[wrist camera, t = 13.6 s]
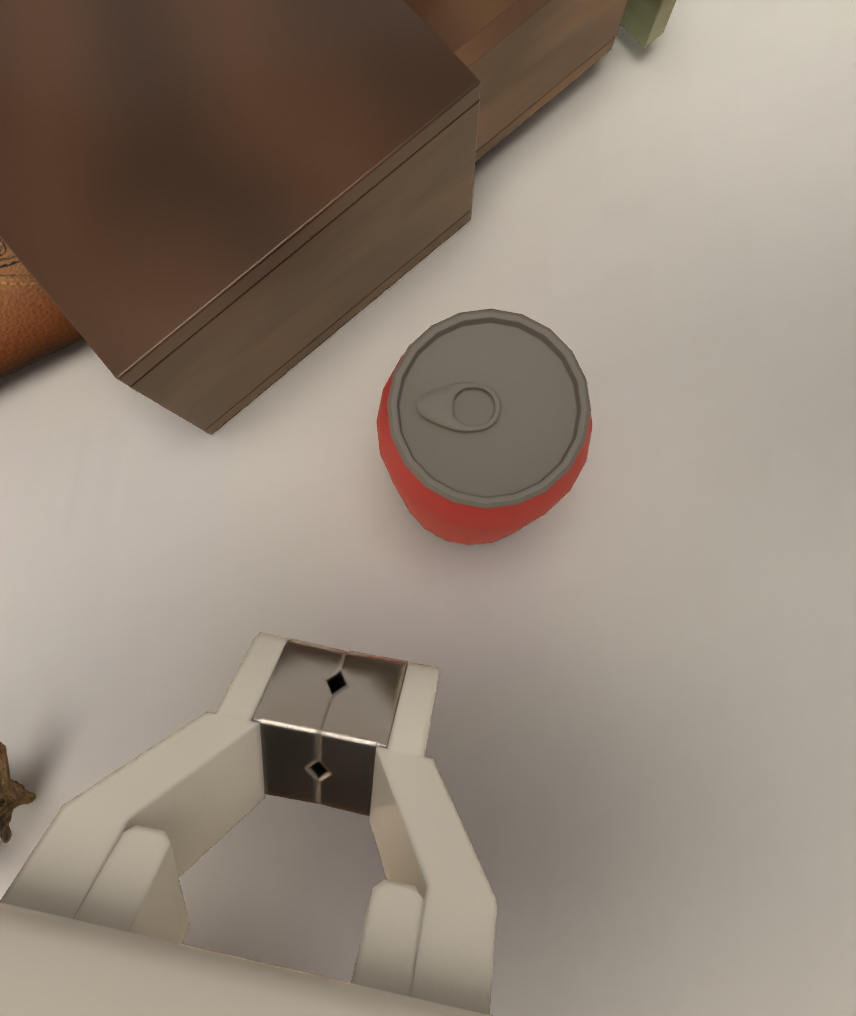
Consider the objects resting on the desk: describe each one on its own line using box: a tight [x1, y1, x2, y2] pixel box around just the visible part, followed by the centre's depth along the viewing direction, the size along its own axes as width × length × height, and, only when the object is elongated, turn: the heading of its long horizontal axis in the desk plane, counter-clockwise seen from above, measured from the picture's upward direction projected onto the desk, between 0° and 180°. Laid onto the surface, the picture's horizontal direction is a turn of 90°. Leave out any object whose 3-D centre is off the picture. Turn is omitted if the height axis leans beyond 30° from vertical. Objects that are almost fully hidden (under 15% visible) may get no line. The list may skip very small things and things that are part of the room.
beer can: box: [377, 309, 592, 545], centre depth 24 cm, size 7×7×12 cm
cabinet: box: [0, 0, 481, 434], centre depth 27 cm, size 16×14×9 cm
